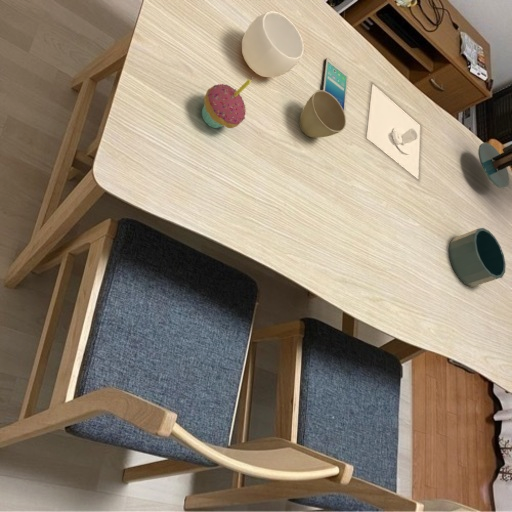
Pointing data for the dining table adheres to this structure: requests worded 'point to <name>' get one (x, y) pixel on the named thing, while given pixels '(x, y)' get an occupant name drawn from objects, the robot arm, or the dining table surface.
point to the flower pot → (322, 115)
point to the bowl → (477, 257)
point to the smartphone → (335, 81)
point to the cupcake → (224, 106)
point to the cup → (272, 45)
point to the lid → (494, 165)
